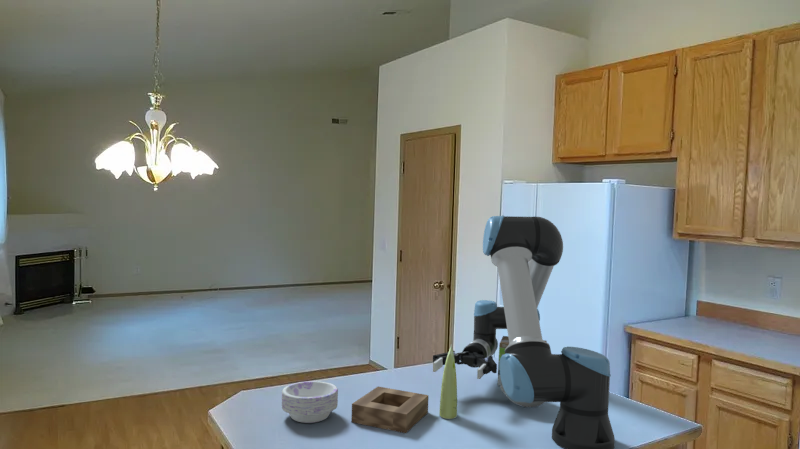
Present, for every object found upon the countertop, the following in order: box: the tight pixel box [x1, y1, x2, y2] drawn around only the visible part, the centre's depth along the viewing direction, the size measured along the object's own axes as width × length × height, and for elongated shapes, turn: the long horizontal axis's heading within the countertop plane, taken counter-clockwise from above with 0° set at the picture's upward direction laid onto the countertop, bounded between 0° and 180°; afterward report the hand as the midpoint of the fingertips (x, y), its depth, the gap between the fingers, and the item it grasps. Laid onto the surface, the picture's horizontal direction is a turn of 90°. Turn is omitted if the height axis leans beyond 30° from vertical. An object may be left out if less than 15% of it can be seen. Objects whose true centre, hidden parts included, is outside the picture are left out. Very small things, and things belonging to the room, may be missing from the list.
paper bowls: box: [281, 380, 339, 424], centre depth 152 cm, size 15×15×8 cm
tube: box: [439, 344, 458, 420], centre depth 154 cm, size 6×5×20 cm
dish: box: [499, 384, 545, 408], centre depth 164 cm, size 18×14×5 cm
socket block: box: [351, 386, 429, 434], centre depth 153 cm, size 16×16×5 cm
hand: (455, 370), depth 161 cm, fingers open, 13 cm apart
